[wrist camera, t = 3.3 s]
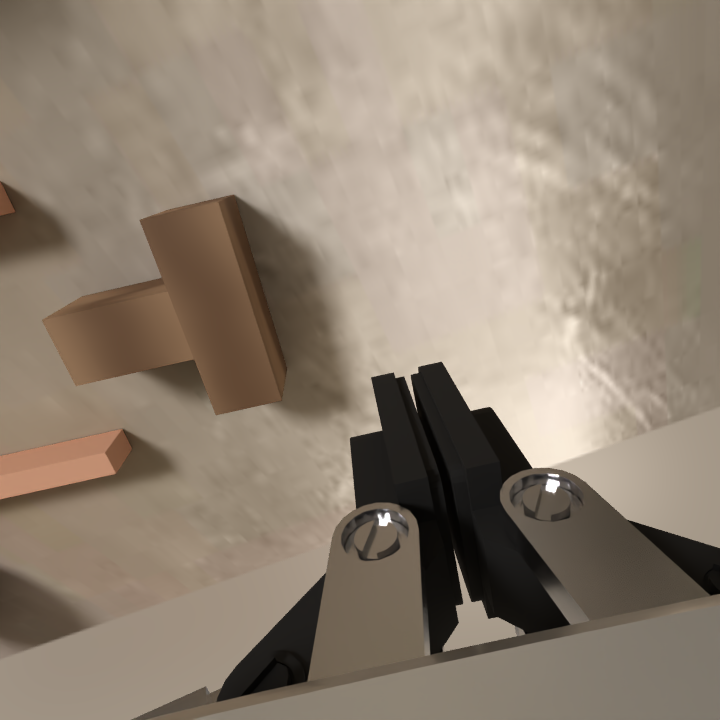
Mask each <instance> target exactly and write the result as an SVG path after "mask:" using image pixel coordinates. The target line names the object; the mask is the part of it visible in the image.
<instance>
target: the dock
mask: <svg viewBox="0 0 720 720" xmlns="http://www.w3.org/2000/svg"><path fill="white" fill-rule="evenodd" d="M14 212H15V210H14V208H13V206H12V204H11V202H10V200H9V198H8V196H7V194H6V192H5V190H4V188H3V186H2V184H1V182H0V216H1V215H6V214H10V213H14ZM131 450H132V448H131V446H130V443H129V441H128V439H127V437H126V435H125V433H124V431H123V429H120V430H115V431H111V432H106V433H102V434H97V435H93V436H88V437H84V438H79V439H75V440H70V441H66V442H61V443H57V444H52V445H48V446H43V447H39V448H34V449H30V450H25V451H21V452H16V453H12V454H7V455H3V456H0V499H4V498H8V497H13V496H17V495H22V494H26V493H31V492H35V491H40V490H44V489H49V488H54V487H58V486H63V485H67V484H72V483H76V482H81V481H85V480H90V479H94V478H99V477H103V476H108V475H113V474H116V473H117V471H118V470H119V468H120V467H121V465H122V464H123V462H124V461H125V459H126V458H127V456H128V455H129V453H130V452H131Z"/></svg>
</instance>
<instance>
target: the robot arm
mask: <svg viewBox="0 0 720 720" xmlns="http://www.w3.org/2000/svg"><path fill="white" fill-rule="evenodd" d="M418 371H419V373H417V374H413V375H411V380H412V386H413V391H414V396H415V401H416V407H417V410H416V408H415V405H414V402H413V399H412V397H411V394H410V391H409V389H408V386H407V383H406V380H405V378H404V377H399V378H395V375H394V373H389V374H385V375H380V376H376V377H371V379H372V384H373V388H374V393H375V398H376V402H377V407H378V412H379V416H380V421H381V426H382V430H383V431H379V432H374V433H369V434H365V435H360V436H356V437H351V438H350V446H351V457H352V468H353V479H354V489H355V500H356V510H353V511H352V512H351V513H349V514H348V515H347V516H345V517H344V518H343V519H342V520H341V521H340V523H339V524H338V525H337V527H336V528H335V531H334V534H333V537H332V541H331V548H330V553H329V560H328V565H327V571H326V573H325V574H324V575H323V576H322V578H320V580H319V581H318V582H317V583H316V584H315V585H314V586H313V587H312V588H311V589H310V590H309V591H308V592H307V593H306V594H305V595H304V596H303V597H302V598H301V599H300V601H298V602H297V604H296V605H295V606H294V607H293V608H292V609H291V610H290V611H289V612H288V613H287V614H286V615H285V616H284V617H283V618H282V619H281V620H280V621H279V622H278V623H277V624H276V625H275V626H274V627H273V629H272V630H271V631H270V632H269V633H268V634H267V635H266V636H265V637H264V638H263V639H262V640H261V641H260V642H259V643H258V644H257V645H256V646H255V647H254V648H253V649H252V651H251V652H250V653H249V654H248V655H247V656H246V657H245V658H244V659H243V660H242V661H241V662H240V663H239V664H238V665H237V666H236V667H235V669H234V670H233V671H232V673H231V674H230V675H229V676H228V678H227V679H226V680H225V682H224V684H223V686H222V688H221V689H219V690H217V691H214V692H212V693H209V691H208V689H207V687H204V688H201V689H199V690H197V691H195V692H192V693H190V694H188V695H186V696H184V697H181V698H179V699H177V700H174V701H172V702H170V703H168V704H166V705H163V706H161V707H159V708H157V709H154V710H152V711H150V712H148V713H145V714H143V715H141V716H139V717H137V718H134V719H132V720H720V548H717V547H714V546H711V545H707V544H704V543H701V542H698V541H694V540H691V539H688V538H685V537H681V536H678V535H675V534H672V533H668V532H665V531H662V530H658V529H655V528H652V527H649V526H646V525H642V524H639V523H636V522H633V521H629V520H627V519H625V518H624V517H623V516H622V515H621V514H620V513H619V512H618V511H617V510H615V509H614V508H613V507H612V506H611V505H610V504H609V503H608V502H607V501H605V500H604V499H603V498H602V497H601V496H600V495H599V494H598V493H597V492H596V491H595V490H593V489H592V488H591V487H590V486H589V485H588V484H587V483H586V482H584V481H583V480H581V479H580V478H578V477H577V476H575V475H573V474H571V473H568V472H565V471H563V470H557V469H552V468H532V467H531V465H530V464H529V462H528V461H527V459H526V458H525V456H524V455H523V453H522V452H521V450H520V449H519V448H518V446H517V445H516V443H515V442H514V440H513V439H512V437H511V436H510V434H509V433H508V431H507V430H506V428H505V427H504V425H503V424H502V422H501V421H500V419H499V418H498V416H497V415H496V413H495V412H494V411H493V409H492V408H491V407H487V408H482V409H478V410H473V411H470V409H469V408H468V406H467V404H466V402H465V401H464V399H463V397H462V396H461V394H460V392H459V390H458V389H457V387H456V385H455V384H454V382H453V380H452V378H451V377H450V375H449V373H448V372H447V370H446V368H445V366H444V365H443V363H442V362H438V363H434V364H429V365H425V366H420V367H418ZM417 412H418V413H417ZM454 551H455V554H456V557H457V560H458V563H459V566H460V569H461V572H462V575H463V578H464V581H465V584H466V587H467V590H468V593H469V596H470V599H471V601H472V602H475V601H480V600H482V602H483V605H484V608H485V610H486V613H487V616H488V618H489V619H490V618H495V617H499V618H501V619H503V620H505V621H507V622H509V623H511V624H513V625H515V630H516V634H517V636H516V637H512V638H507V639H503V640H498V641H493V642H489V643H484V644H479V645H474V646H470V647H465V648H460V649H456V650H451V651H446V652H445V651H444V644H445V643H446V642H447V640H448V638H449V637H450V635H451V634H452V632H453V631H454V629H455V628H456V626H457V625H458V623H459V622H458V617H457V611H456V605H461V604H463V599H462V594H461V589H460V582H459V577H458V571H457V565H456V560H455V554H454Z"/></svg>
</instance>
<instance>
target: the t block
mask: <svg viewBox="0 0 720 720" xmlns="http://www.w3.org/2000/svg"><path fill="white" fill-rule="evenodd" d="M140 223H141V225H142V228H143V230H144V233H145V235H146V238H147V240H148V243H149V246H150V248H151V251H152V253H153V256H154V258H155V261H156V263H157V266H158V269H159V271H160V274H161V276H162V278H160V279H156V280H151V281H147V282H143V283H138V284H134V285H130V286H125V287H121V288H117V289H112V290H108V291H104V292H99V293H95V294H91V295H86V296H82V297H80V298H79V299H77V300H75V301H74V302H72V303H70V304H68V305H67V306H65V307H63V308H62V309H60V310H58V311H57V312H55V313H53V314H52V315H50V316H48V317H46V318H45V319H43V320H42V321H43V323H44V325H45V327H46V329H47V331H48V333H49V335H50V337H51V339H52V341H53V343H54V345H55V347H56V348H57V350H58V352H59V354H60V356H61V358H62V360H63V362H64V364H65V366H66V368H67V370H68V372H69V374H70V376H71V377H72V379H73V381H74V383H75V385H76V386H78V385H83V384H87V383H91V382H96V381H100V380H105V379H109V378H113V377H118V376H122V375H127V374H131V373H136V372H140V371H144V370H149V369H153V368H158V367H162V366H167V365H171V364H175V363H180V362H184V361H189V360H193V359H194V360H195V363H196V366H197V368H198V371H199V373H200V376H201V378H202V381H203V383H204V386H205V389H206V391H207V394H208V396H209V399H210V401H211V404H212V406H213V409H214V412H215V414H216V415H219V414H224V413H228V412H233V411H237V410H242V409H246V408H251V407H255V406H260V405H264V404H269V403H273V402H278V401H282V396H283V390H284V384H285V378H286V372H287V367H286V363H285V360H284V357H283V353H282V350H281V347H280V344H279V340H278V337H277V334H276V330H275V327H274V324H273V321H272V317H271V314H270V311H269V308H268V304H267V301H266V298H265V294H264V291H263V288H262V285H261V281H260V278H259V275H258V272H257V268H256V265H255V262H254V258H253V255H252V252H251V249H250V245H249V242H248V239H247V236H246V232H245V229H244V226H243V222H242V219H241V216H240V213H239V209H238V206H237V203H236V200H235V196H234V195H230V196H225V197H221V198H217V199H213V200H208V201H204V202H200V203H195V204H191V205H187V206H183V207H178V208H174V209H170V210H166V211H163V212H160V213H158V214H155V215H152V216H149V217H147V218H144V219H141V220H140Z"/></svg>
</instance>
